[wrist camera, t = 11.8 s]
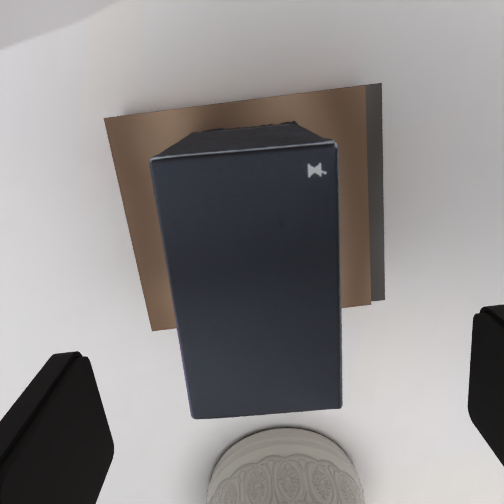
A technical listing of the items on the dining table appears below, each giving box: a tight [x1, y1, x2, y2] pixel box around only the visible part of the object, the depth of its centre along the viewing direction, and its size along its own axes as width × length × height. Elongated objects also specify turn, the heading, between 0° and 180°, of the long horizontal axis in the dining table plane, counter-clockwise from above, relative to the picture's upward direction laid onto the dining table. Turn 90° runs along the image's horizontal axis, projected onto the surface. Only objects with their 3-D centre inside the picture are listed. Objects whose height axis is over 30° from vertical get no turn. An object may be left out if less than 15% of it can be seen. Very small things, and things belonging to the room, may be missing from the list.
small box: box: [149, 121, 342, 419], centre depth 20 cm, size 11×6×10 cm, turn 5°
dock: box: [104, 83, 385, 331], centre depth 26 cm, size 15×13×4 cm
